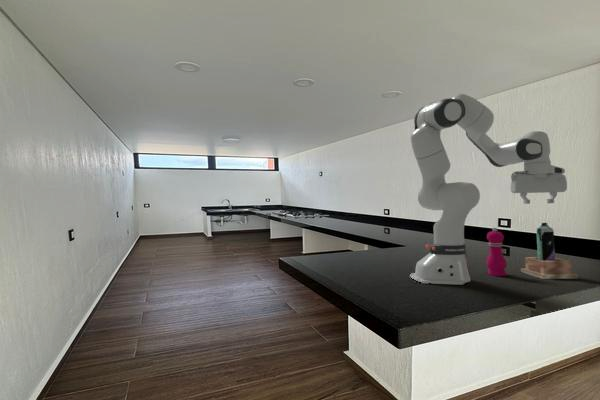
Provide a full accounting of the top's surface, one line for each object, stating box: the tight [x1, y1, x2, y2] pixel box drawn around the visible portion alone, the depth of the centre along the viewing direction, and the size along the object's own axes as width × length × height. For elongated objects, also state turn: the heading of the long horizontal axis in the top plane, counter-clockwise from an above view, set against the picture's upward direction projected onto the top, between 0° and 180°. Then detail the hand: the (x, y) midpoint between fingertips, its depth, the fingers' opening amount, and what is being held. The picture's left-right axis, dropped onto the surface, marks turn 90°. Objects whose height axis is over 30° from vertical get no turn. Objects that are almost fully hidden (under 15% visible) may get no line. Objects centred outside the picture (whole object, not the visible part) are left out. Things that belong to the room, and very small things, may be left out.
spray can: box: [536, 222, 556, 261], centre depth 122 cm, size 6×6×20 cm
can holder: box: [520, 256, 580, 280], centre depth 121 cm, size 13×13×6 cm
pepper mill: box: [486, 226, 508, 277], centre depth 125 cm, size 7×7×20 cm
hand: (538, 203), depth 123 cm, fingers open, 8 cm apart
